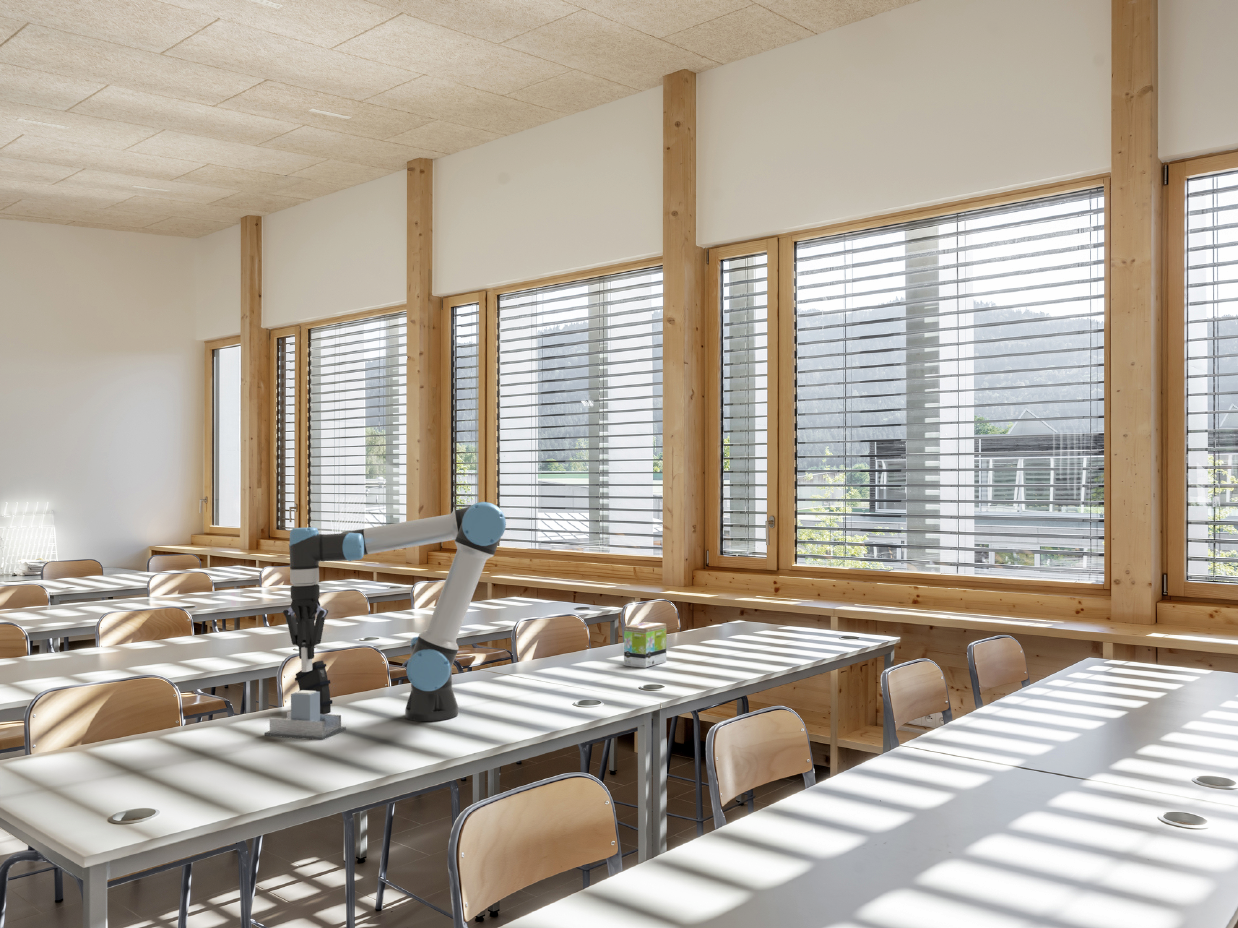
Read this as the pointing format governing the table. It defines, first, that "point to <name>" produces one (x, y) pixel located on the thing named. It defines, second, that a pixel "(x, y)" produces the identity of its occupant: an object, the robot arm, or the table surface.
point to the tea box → (644, 644)
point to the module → (305, 705)
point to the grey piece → (306, 727)
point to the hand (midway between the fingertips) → (307, 670)
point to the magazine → (316, 684)
